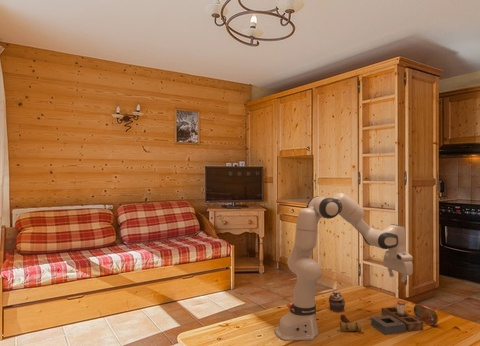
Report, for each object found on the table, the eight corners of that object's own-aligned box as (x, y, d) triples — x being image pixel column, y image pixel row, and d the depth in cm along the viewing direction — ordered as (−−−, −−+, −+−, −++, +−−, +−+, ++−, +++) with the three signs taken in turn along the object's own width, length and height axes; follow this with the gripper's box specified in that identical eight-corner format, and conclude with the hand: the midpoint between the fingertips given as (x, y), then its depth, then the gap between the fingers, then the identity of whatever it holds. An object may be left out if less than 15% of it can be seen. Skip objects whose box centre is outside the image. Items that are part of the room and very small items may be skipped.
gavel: (332, 310, 198) (350, 310, 197) (332, 319, 197) (350, 319, 197) (341, 323, 177) (361, 323, 177) (342, 333, 177) (361, 333, 176)
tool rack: (408, 331, 177) (408, 323, 177) (381, 315, 198) (381, 308, 198) (423, 329, 179) (423, 322, 179) (395, 313, 200) (395, 306, 200)
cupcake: (327, 311, 205) (327, 294, 205) (330, 305, 214) (329, 289, 214) (344, 313, 201) (344, 296, 201) (346, 307, 210) (345, 291, 210)
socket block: (385, 334, 174) (384, 326, 174) (371, 324, 185) (370, 317, 185) (405, 332, 176) (405, 324, 176) (390, 322, 188) (390, 315, 188)
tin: (413, 316, 195) (413, 302, 195) (418, 316, 196) (417, 301, 196) (434, 328, 181) (433, 312, 181) (439, 327, 181) (438, 311, 182)
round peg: (400, 324, 186) (400, 303, 186) (395, 321, 190) (395, 301, 190) (407, 323, 187) (406, 302, 187) (402, 320, 191) (401, 300, 191)
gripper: (380, 250, 199) (380, 274, 199) (404, 258, 179) (404, 284, 179) (389, 249, 200) (390, 273, 200) (415, 257, 180) (415, 284, 180)
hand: (397, 279), depth 189 cm, fingers open, 8 cm apart
